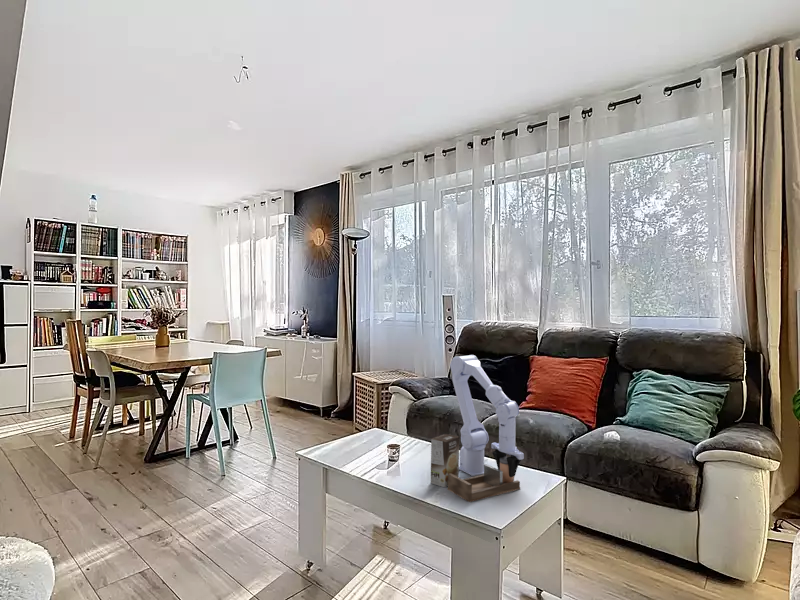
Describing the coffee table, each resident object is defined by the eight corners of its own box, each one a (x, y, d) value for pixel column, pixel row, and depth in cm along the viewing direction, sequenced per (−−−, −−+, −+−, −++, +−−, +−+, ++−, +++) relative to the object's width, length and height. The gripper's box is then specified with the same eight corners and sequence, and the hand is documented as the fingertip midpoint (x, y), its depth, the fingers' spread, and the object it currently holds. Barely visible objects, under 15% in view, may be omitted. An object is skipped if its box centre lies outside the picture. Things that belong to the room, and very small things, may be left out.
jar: (496, 479, 176) (496, 458, 176) (507, 476, 178) (507, 455, 178) (506, 483, 171) (506, 462, 171) (517, 481, 174) (517, 460, 174)
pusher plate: (483, 481, 175) (483, 464, 175) (486, 480, 175) (486, 464, 175) (499, 489, 168) (499, 472, 168) (502, 488, 168) (502, 471, 168)
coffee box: (444, 488, 170) (445, 442, 170) (430, 483, 174) (430, 438, 174) (459, 480, 177) (459, 436, 177) (444, 476, 181) (445, 432, 181)
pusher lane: (447, 489, 169) (447, 473, 169) (496, 477, 180) (497, 462, 180) (469, 502, 159) (469, 485, 159) (520, 489, 170) (520, 473, 170)
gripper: (530, 439, 170) (529, 478, 171) (501, 429, 183) (501, 465, 183) (515, 442, 167) (514, 482, 167) (487, 431, 179) (486, 468, 179)
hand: (506, 473), depth 175 cm, fingers closed on jar, 5 cm apart
